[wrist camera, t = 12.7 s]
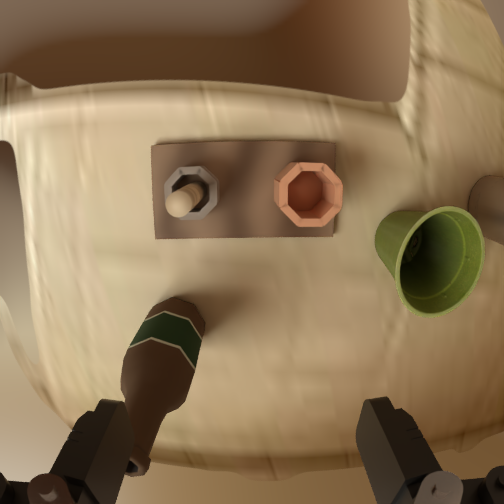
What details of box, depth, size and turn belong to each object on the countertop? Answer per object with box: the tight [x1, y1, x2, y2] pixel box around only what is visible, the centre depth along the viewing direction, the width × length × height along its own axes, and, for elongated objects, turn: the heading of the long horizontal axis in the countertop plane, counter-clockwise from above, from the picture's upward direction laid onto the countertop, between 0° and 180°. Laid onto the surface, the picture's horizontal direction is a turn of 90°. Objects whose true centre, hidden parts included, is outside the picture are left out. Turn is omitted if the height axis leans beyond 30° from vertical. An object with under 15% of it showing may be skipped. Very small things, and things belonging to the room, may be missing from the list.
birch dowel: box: [165, 181, 206, 217], centre depth 31 cm, size 2×2×10 cm
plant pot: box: [375, 206, 485, 318], centre depth 34 cm, size 12×12×11 cm
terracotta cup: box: [274, 162, 343, 227], centre depth 33 cm, size 6×6×6 cm
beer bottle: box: [121, 298, 205, 477], centre depth 30 cm, size 8×8×24 cm
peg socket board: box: [151, 141, 335, 239], centre depth 35 cm, size 21×11×4 cm, turn 90°
